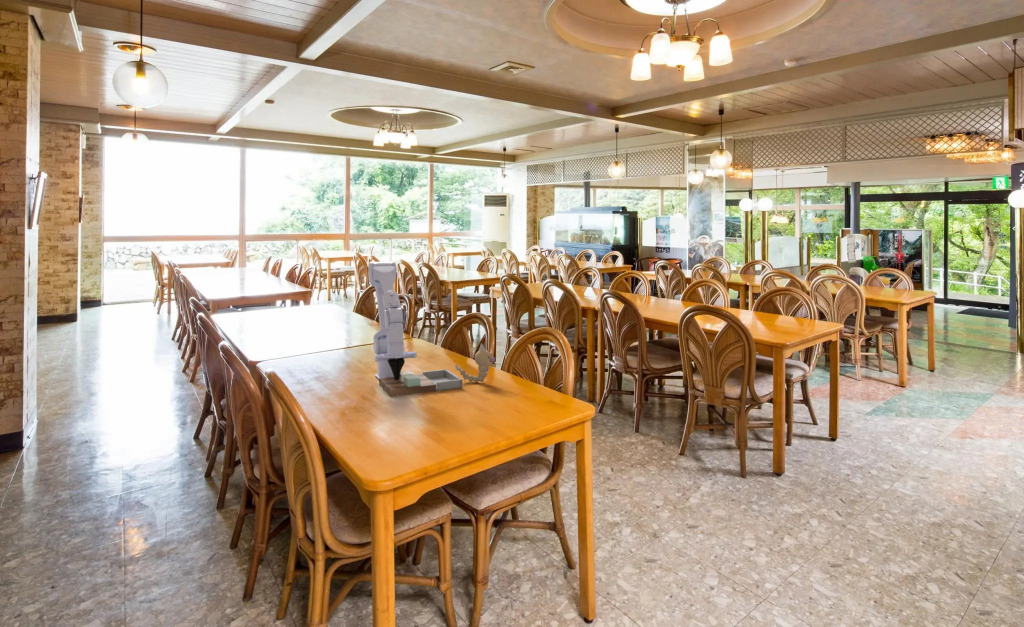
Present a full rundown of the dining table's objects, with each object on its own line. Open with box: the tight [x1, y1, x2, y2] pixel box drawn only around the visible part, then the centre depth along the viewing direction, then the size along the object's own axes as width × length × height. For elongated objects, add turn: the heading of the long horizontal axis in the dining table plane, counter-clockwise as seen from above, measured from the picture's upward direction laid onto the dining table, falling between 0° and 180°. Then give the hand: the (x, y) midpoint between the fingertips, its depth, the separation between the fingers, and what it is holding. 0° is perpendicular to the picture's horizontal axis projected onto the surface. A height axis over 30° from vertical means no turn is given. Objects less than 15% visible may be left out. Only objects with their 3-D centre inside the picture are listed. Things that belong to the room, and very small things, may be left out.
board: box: [378, 373, 437, 398], centre depth 207 cm, size 17×16×2 cm
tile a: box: [399, 370, 415, 382], centre depth 208 cm, size 4×4×3 cm
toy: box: [455, 342, 496, 384], centre depth 213 cm, size 6×15×15 cm, turn 78°
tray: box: [422, 368, 463, 392], centre depth 212 cm, size 17×9×3 cm, turn 26°
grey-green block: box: [404, 375, 421, 387], centre depth 202 cm, size 4×4×3 cm
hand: (396, 379), depth 207 cm, fingers closed
